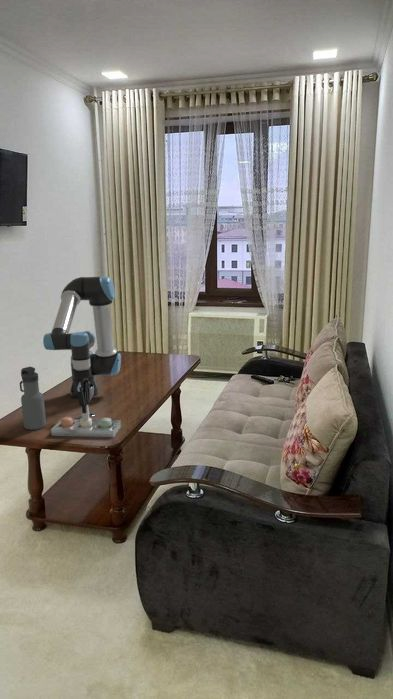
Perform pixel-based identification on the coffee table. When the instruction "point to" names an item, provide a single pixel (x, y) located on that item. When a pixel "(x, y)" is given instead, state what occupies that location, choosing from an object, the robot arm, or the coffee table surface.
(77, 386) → the wine glass
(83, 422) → the white egg
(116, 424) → the panel
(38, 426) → the water bottle
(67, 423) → the brown egg
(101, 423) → the pale green rounded egg
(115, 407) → the coffee table surface
